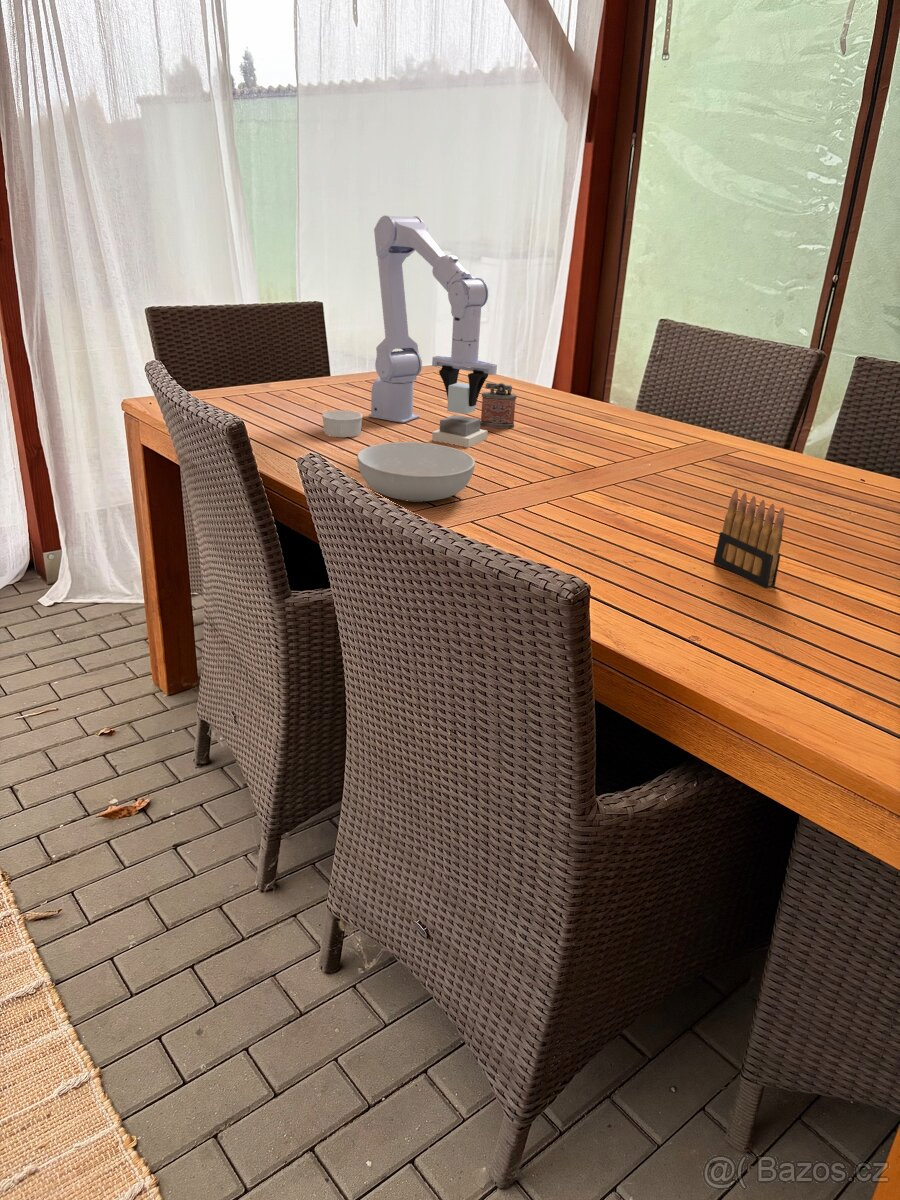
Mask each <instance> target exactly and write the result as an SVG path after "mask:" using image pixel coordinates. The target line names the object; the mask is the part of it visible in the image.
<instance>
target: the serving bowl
mask: <svg viewBox="0 0 900 1200" xmlns="http://www.w3.org/2000/svg"><path fill="white" fill-rule="evenodd" d="M356 457H357V459H356V460H357V465H358V466H357V467H358V469H359V470H358V471H359V473H360V475H361V478H362V479H363V480H364V482H365V483H366V484H367V485H368V487H370V488H371V489H372V490H373V491H375V492H377V493H379V494H382V495H384V496H386V497H389V498H391V499H392V498H393V499H397V500H400V499H401V501H404V500H408V501H407V502H412V501H416V502H415V503H417V502H418V503H420V502H421V503H422V502H423V501H424V502H431V501H438V500H439V501H440V500H444V499H447V498H451V497H452V496H455V495H457V494H458V493H460V492H461V491H462V490H464V489H465V488H466V486H468V483H469V482H470V481H471V479H472V477H473V474H474V472H475V471H474V470H475V465H476V460H475V459H474V458H473V456H471V455H470V454H469V453H467V452H465V451H463V450H460V449H458V448H454V447H451V446H446V445H441V444H436V443H428V442H420V441H419V442H417V441H401V442H399V441H398V442H384V443H379V444H375V445H369V446H367V447H365V448H362V449H361V450H360V451H359V452H358V453H357V456H356Z"/></svg>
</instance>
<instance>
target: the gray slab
mask: <svg viewBox="0 0 900 1200" xmlns="http://www.w3.org/2000/svg"><path fill="white" fill-rule="evenodd" d="M480 421H481V418H475V417H468V416H465V415H463V416H462V415H457V414H453V415H451V416H448V417H445V418H442V419H440V420H439V429H440V432H445V433H451V434H456V435H462V436H467V435H470V434H472V433H475V432H477V431H480V429H481V425H480Z"/></svg>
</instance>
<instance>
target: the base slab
mask: <svg viewBox="0 0 900 1200" xmlns="http://www.w3.org/2000/svg"><path fill="white" fill-rule="evenodd" d="M431 436H432V437H431V441H432V440H433V441H432V442H437V441H439V442H438V443H442V442H444V444H447V443H450V444H449V445H453V444H455V446H458V445H459V447H463V446H464V448H469V449H470V448H471V447H473V446H475V445H478V444H480V443H481V442H484V441H486V440H488V430H486V429H482V428H480V431H477V432H475V433H472V434H470V435H467V436H462V435H456V434H451V433H445V432H440V428H439V429H436V430H434V431H432V433H431Z"/></svg>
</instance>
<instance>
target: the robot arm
mask: <svg viewBox="0 0 900 1200" xmlns="http://www.w3.org/2000/svg"><path fill="white" fill-rule="evenodd" d="M428 229H429V228H428V225H427V223H425V222H424V221H423V219H422V218H421V217H420V216H390V215H382V216H381V217H380V218H379V219H378V221H377V223H376V224H375V227H374V228H373V233H374V242H375V252H376V256H377V266H378V275H379V284H380V285H379V286H380V296H381V305H382V306H381V307H382V317H383V327H384V339H382V341H381V342H380V343H379V344H378V345H377V347H376V350H375V351H376V357H375V358H376V359H375V363H374V364H375V365H374V366H375V370H376V373H377V375H378V378H376V379H375V380H374V381H373V383H372V386H371V394H370V395H371V398H370V399H371V400H370V401H371V402H370V403H371V404H370V406H371V407H370V411H371V412H370V414H369V416H368V417H369V418H374V419H379V420H383V421H389V422H395V423H402V424H404V423H407V422H409V421H410V422H411V421H412V420H415V419H418V418H420V416H421V415H420V414H416V413H414V412H413V411H414V387H415V386H414V384H415V383H414V382H415V381H417V377H418V376H419V375H420V373H421V372H422V368H423V361H422V357H421V355H420V352H419V347H418V346H419V345H418V343H417V342H416V341H414V340H413V338H412V337H410V336H409V327H408V326H409V325H408V315H407V305H406V292H405V284H404V282H405V281H404V270H403V263H404V262H405V261H406V259H407V258H408V257H410V256H411V255H412V254H414V252H416V253H418V255H419V256H420V257H421V258H423V259H424V260H425V261H426V262H427V263H428V264H429V265H430V266H431V267H432V276H433V277H434V279H436V281H437V282H439V284H440V285H441V286H442V287H443V289H444V290H445V291H446V292H447V298H448V301H449V304H450V310H451V312H450V313H451V316H452V331H451V332H452V334H451V335H452V336H451V339H452V340H451V352H450V353H451V354H450V355H451V356H441V355H436V356H432V362H431V366H432V367H441V368H440V369H439V370H438V374H439V376H440V378H441V380H442V382H443V385H444V388H445V392H446V396H447V399H448V387H449V385H452V384H455V383H458V378H459V373H460V370H461V371H468V372H470V373H468V374H467V378H468V384H469V406H471V407H472V406H475V405H476V406H477V403H478V398H479V396H480V393H481V391H482V388H483V385H484V383H485V382H486V380H487V378H488V377H489V375H491V376H494V375H496V374H497V371H498V364H495V363H490V362H486V361H482V360H479V349H480V348H479V347H480V332H481V316H482V308H483V307H484V306H485V305H486V304H487V301H488V299H489V289H488V286H487V284H486V282H485V281H484V280H483V279H482V278H481V277H475V276H472V275H471V273H470V272H469V271H468V270H467V269H465V267H464V266H463V265H462V264H461V263H460V262H459V258H458V257H457V255H451V254H445V253H444V252H443V251H442V249H441V247H439V245H438V244H437V242H436V241H435V240H434V239H433V237H432V236H431V235H430V233H429V230H428ZM397 349H399V350H398V351H397ZM395 350H396V351H395ZM476 406H475V407H476Z"/></svg>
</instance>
